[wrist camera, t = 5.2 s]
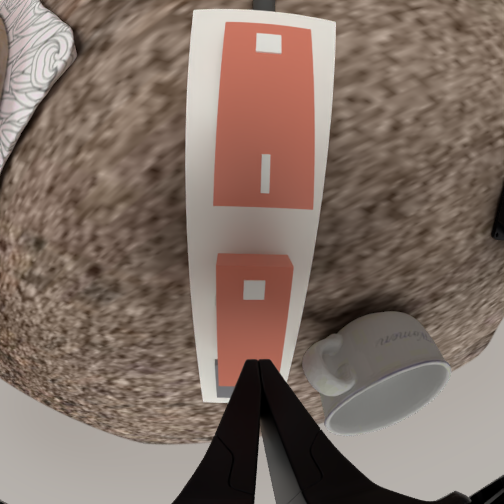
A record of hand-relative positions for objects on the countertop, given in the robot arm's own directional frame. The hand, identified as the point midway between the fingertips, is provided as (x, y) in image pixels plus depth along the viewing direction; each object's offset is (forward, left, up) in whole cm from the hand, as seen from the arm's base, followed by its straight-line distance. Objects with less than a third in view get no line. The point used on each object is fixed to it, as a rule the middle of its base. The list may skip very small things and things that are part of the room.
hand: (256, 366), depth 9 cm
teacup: (-10, +9, -11) cm, 17 cm away
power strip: (0, -3, -10) cm, 11 cm away
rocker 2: (0, +3, -5) cm, 6 cm away
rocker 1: (0, -8, -5) cm, 10 cm away
